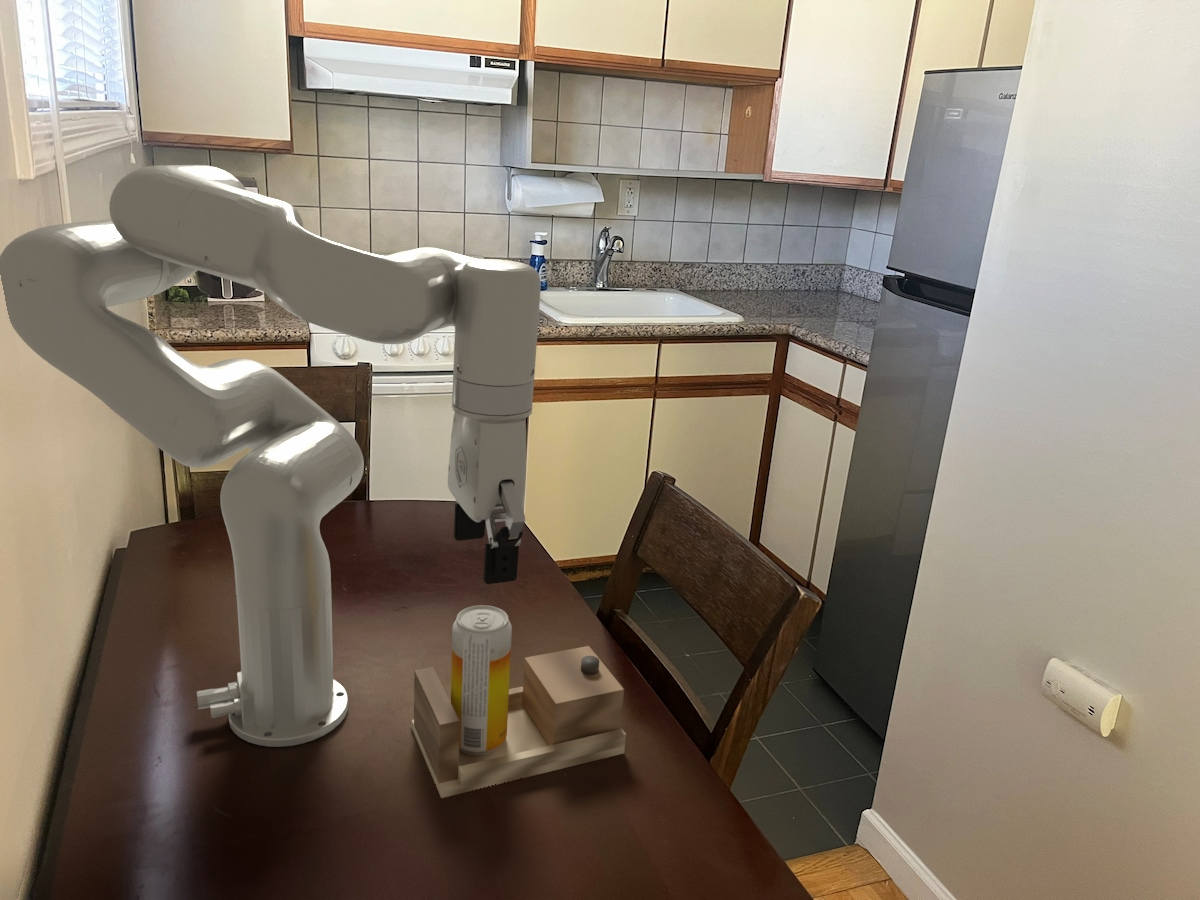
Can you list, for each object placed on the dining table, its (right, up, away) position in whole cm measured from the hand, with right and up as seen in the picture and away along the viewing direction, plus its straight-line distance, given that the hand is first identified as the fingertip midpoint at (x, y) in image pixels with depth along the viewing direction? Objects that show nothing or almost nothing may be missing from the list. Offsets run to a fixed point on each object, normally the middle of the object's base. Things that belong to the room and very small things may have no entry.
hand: (483, 558), depth 89 cm
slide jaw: (+8, -19, +11) cm, 24 cm away
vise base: (+2, -21, +9) cm, 23 cm away
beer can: (-2, -21, +7) cm, 22 cm away
